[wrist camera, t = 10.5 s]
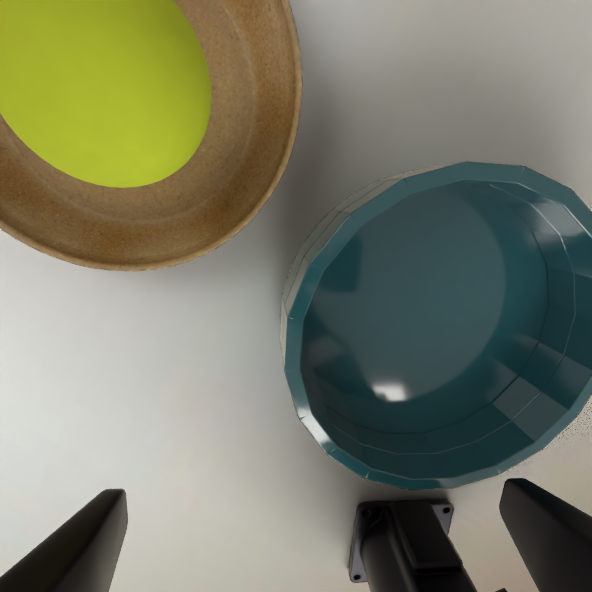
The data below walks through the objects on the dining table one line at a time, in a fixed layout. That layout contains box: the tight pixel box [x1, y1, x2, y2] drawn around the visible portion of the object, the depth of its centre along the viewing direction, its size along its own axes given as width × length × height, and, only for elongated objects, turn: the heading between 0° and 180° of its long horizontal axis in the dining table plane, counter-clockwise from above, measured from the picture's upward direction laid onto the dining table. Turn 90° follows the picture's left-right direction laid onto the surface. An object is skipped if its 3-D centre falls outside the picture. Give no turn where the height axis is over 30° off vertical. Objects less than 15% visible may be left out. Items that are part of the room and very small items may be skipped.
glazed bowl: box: [280, 161, 592, 490], centre depth 18 cm, size 16×16×4 cm
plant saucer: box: [0, 0, 302, 271], centre depth 14 cm, size 15×15×3 cm
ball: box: [0, 0, 211, 188], centre depth 11 cm, size 6×6×6 cm
